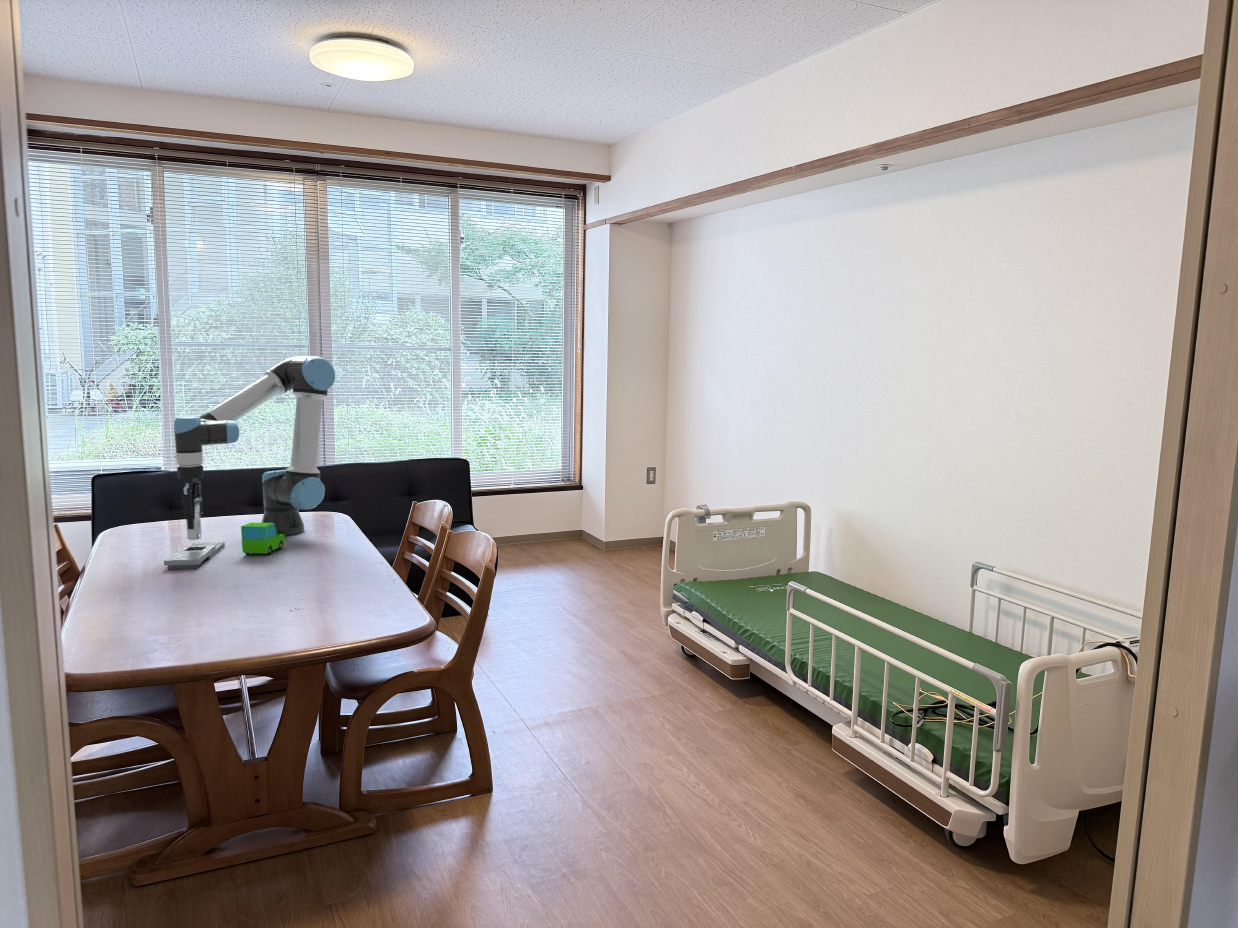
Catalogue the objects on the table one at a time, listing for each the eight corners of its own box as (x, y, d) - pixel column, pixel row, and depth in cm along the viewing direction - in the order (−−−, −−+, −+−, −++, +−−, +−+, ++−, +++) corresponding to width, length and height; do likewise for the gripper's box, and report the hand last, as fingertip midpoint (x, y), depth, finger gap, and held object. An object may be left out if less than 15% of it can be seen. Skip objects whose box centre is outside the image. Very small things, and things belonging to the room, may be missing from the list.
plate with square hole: (224, 546, 293) (224, 537, 292) (199, 568, 263) (198, 559, 263) (193, 547, 291) (192, 539, 290) (164, 570, 262) (163, 560, 261)
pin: (206, 536, 279) (203, 496, 278) (201, 539, 274) (198, 499, 272) (187, 536, 278) (185, 497, 277) (182, 540, 273) (179, 500, 271)
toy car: (289, 547, 292) (287, 518, 290) (269, 557, 279) (267, 526, 277) (260, 546, 293) (258, 518, 291) (239, 556, 280) (237, 526, 278)
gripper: (185, 462, 280) (190, 531, 284) (168, 469, 264) (173, 543, 267) (210, 461, 282) (214, 531, 285) (194, 468, 265) (199, 542, 268)
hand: (194, 536), depth 276 cm, fingers closed on pin, 4 cm apart
